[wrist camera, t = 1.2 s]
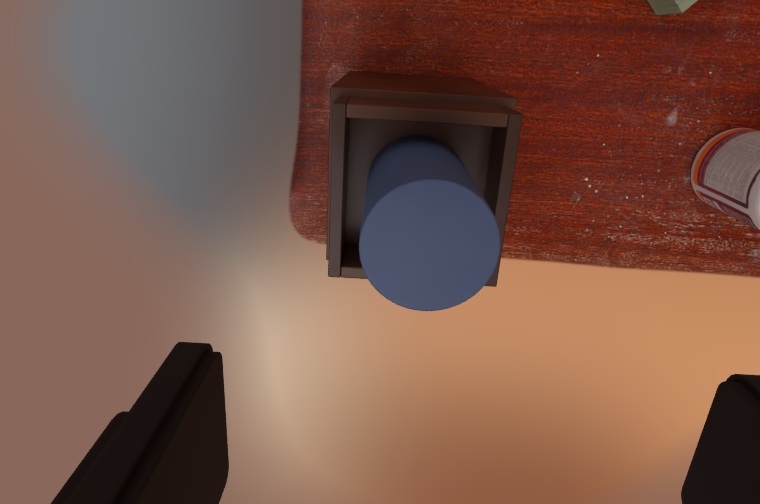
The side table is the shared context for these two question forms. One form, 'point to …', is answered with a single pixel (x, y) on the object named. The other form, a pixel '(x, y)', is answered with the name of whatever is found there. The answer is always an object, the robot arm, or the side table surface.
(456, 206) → the vial
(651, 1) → the bin
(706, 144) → the pill bottle
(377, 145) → the stand
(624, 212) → the side table surface
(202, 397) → the robot arm
